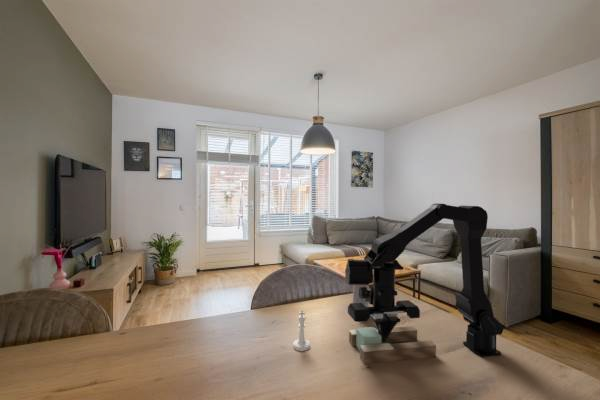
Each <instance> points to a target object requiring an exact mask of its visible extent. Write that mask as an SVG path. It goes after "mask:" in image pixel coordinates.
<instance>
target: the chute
mask: <svg viewBox="0 0 600 400" xmlns="http://www.w3.org/2000/svg"><path fill="white" fill-rule="evenodd" d="M374 328H375V330H376V331H377V332H378V330H377V327H374ZM348 343H350V345H351V346H352V347H354V346H356V329H349V330H348ZM436 357H437V345H436V344H435V343H433V341H432V340H424V341H423V340H422V341H418V330H417V328H415V327H414V326H400V327H399V326H397V327H394V328H393V329H392V331H391V333H390V334H389V336H388V338H387V340H386V341H385V342H382V341H381V344H372V345H360V351H359V359H360V360H361V362H362V364H364V365H365V364H366V365H367V364H376V363H385V362H397V361H408V360H417V359H418V360H419V359H428V358H429V359H430V358H436Z"/></svg>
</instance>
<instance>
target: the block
mask: <svg viewBox="0 0 600 400" xmlns="http://www.w3.org/2000/svg"><path fill="white" fill-rule="evenodd" d="M375 328H376V327H374V326H367V327H356V328H355V330H356V348H357V350H358V351H359V352H360V345H372V344H382V343H381V335H380V334H379V333H378V332H377V331H376V330H375Z"/></svg>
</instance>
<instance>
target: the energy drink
mask: <svg viewBox="0 0 600 400" xmlns="http://www.w3.org/2000/svg"><path fill="white" fill-rule="evenodd" d="M359 287H366V288H367V290H370V288H369V287H370V284H369V285H352V303H362V304H363V305H364V306H365V307H369V305H370V304H369V301H365V298H363V299H361V298H359Z"/></svg>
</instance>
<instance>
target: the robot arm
mask: <svg viewBox="0 0 600 400" xmlns="http://www.w3.org/2000/svg"><path fill="white" fill-rule="evenodd" d="M488 217H489V216H488V213H487V210H485V209H484V208H483V207H481V206H478V205H459V206H458V205H457V206H454V205H449V204H445V203H438V202H437V203H433V204H431V205H429V207H427V209H425V210H424V211H423V212H421V213H419V214H417V216H415V217H414V218H413V219H411V220H409V221H408V222H407V223H405V224H404V225H403V226H401V227H400V228H399V229H397V230H394V231H392V232H389V233H386V234H384V235H382V236H379V237H377V238H375V239H374V240H373V241H372V242H371V249H370V250H369V251H368V252H367V254H366V255H365V256H364V257H363V259H354V258H347V263H346V267H345V269H344V272H345V273H344V275H345V282H346V285H347V286H353V285H369V286H370V289H369V290H367V288H366V287H359V298H361V299H363V298H365V301H369V304H368V305H372V306H368V307H365V306H364V305H363V304H362V303H353V302H352V303H351V302H350V303H349V305H348V306H347V313H348V315H349V316H350V318H351V319H352V320H353V321H354V322H357V323H358V322H359V323H361V322H362V323H364V322H368V320H369V319H371V320H372V321H373V323H374V324H375V328H376V329H377V330H378V333H379V334H380V335H381V341H382V342H385V341H386V340H387V338H388V336H389V334H390V333H391V331H392V329H393V328H396V325H397V324H398V323H400V322H401V318H399V316H398V314H404V313H406V315H407V316H408V318H409V319H419V318H420V317H421V310H420V308H419V306H418V305H416V304H415V303H413V301H412V302H411V300H406V299H405V300H404V299H403V300H397V301H395V300H396V296H398V291H397V290H396V271H398V270H399V271H400V270H401V271H402V270H404V267H403V266H402V265H401V264H400V262H399V261H398V258H399V256H401V255H402V253H404V251H405V249H406V248H407V246H408V245H409V244H410V243H411V242H412V241H414V240H415V239H417V238H418V237H419V236H421V235H422V234H423V233H425V232H427V231H428V230H429V229H430V228H432V227H433V226H434V225H437V224H438V223H440V222H441V221H442V220H443V219H445V220H451V221H452V223H453V227H454V229H455V230H456V233H457V235H458V236H459V238H460V239H459V241H460V242H459V243H460V251H461V252H460V254H461V256H460V257H461V270H462V271H461V272H462V289H461V291H460V292H459V293H458V292H455V293H454V294H455V295H454V297H455V301H456V302H455V306H454V307H456V308H457V311H458V312H459V314H460V315H461V316H462V318H463V321H465V322H467V323H468V324H467V330H466V331H465V333H466V334H465V335H466V340H465V341H463V342H462V345H464V346H465V347H466V348H468V349H469V350H471V351H472V352H474V353H475V354H477V355H478V356H479V357H488V356H489V357H492V356H499V355H502V352H501V351H500V350H499V349H497V335H502V334H503V332H504V328H505V327H504V325H503V324H502V323H501V322H500V321H499V320H498V319H497V318H496V317H495V314H494V310H493V305H492V302H491V301H490V299H489V297H488V296H487V293H486V291H485V283H484V282H485V281H484V280H485V279H484V265H483V249H482V238H483V235H485V232H486V230H487V226H488ZM370 284H372V285H370Z"/></svg>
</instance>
